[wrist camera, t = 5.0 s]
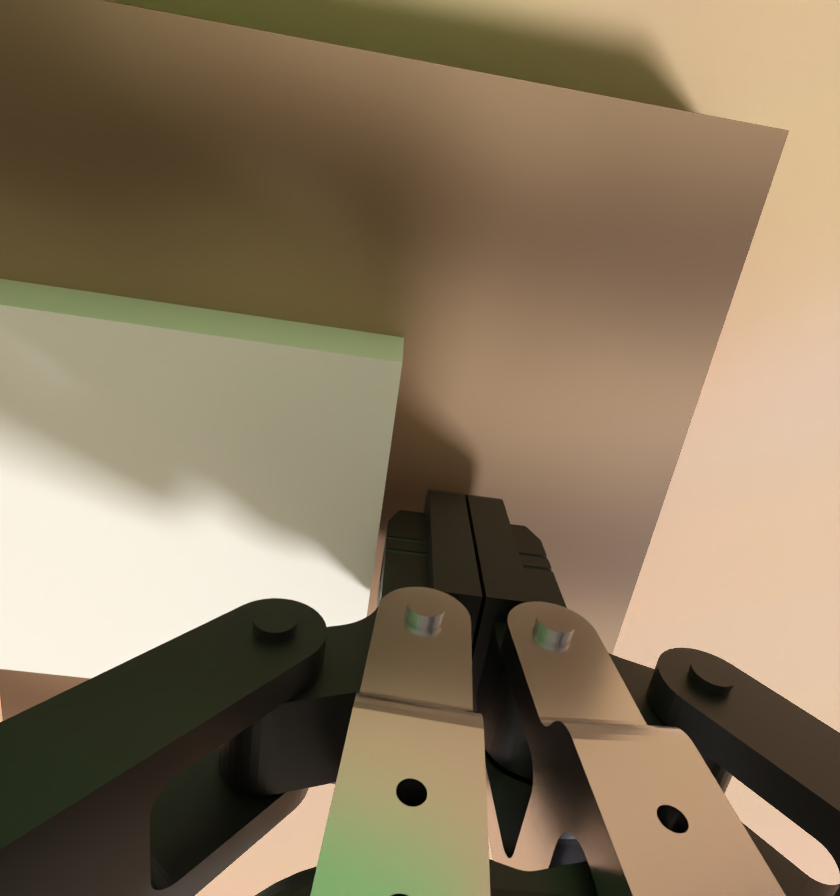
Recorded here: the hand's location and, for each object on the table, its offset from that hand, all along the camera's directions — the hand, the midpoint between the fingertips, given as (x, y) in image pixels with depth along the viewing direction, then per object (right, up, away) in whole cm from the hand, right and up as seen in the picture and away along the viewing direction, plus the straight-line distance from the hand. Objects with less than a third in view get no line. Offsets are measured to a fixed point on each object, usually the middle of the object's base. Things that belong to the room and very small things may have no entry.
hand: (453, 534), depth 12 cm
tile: (-6, +1, 0) cm, 7 cm away
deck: (-3, +2, +3) cm, 4 cm away
